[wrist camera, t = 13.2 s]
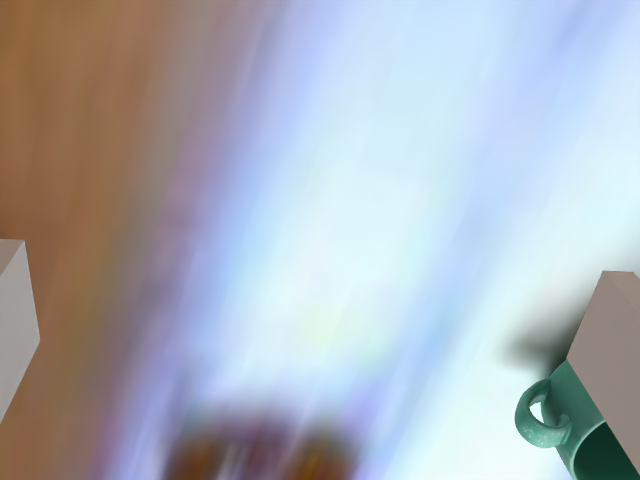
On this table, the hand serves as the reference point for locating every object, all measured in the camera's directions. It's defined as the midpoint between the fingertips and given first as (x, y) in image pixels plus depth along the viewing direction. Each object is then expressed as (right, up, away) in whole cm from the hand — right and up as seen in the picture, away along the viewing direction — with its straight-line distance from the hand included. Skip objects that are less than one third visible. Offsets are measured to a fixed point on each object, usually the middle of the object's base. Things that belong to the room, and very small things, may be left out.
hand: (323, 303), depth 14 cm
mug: (+25, -11, +45) cm, 53 cm away
